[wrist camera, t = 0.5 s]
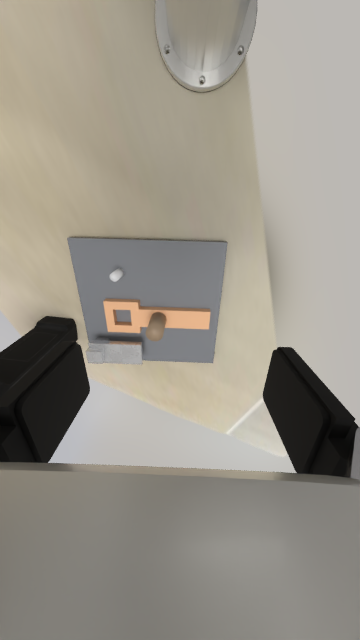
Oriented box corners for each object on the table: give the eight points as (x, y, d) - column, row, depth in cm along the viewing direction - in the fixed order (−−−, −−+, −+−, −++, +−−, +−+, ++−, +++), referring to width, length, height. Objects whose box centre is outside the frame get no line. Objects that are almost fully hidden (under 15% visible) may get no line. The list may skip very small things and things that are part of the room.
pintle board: (71, 237, 38) (55, 239, 34) (226, 241, 38) (231, 244, 33) (94, 354, 50) (85, 368, 46) (212, 359, 50) (214, 373, 45)
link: (110, 328, 45) (96, 347, 38) (106, 298, 42) (90, 313, 35) (207, 331, 45) (211, 352, 38) (210, 302, 42) (214, 318, 35)
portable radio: (45, 337, 49) (-76, 439, 26) (40, 315, 46) (-99, 406, 24) (78, 341, 49) (-14, 445, 26) (75, 319, 46) (-30, 414, 24)
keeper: (98, 330, 47) (84, 347, 41) (145, 331, 47) (139, 349, 41) (101, 348, 49) (89, 366, 43) (146, 349, 49) (140, 369, 43)
